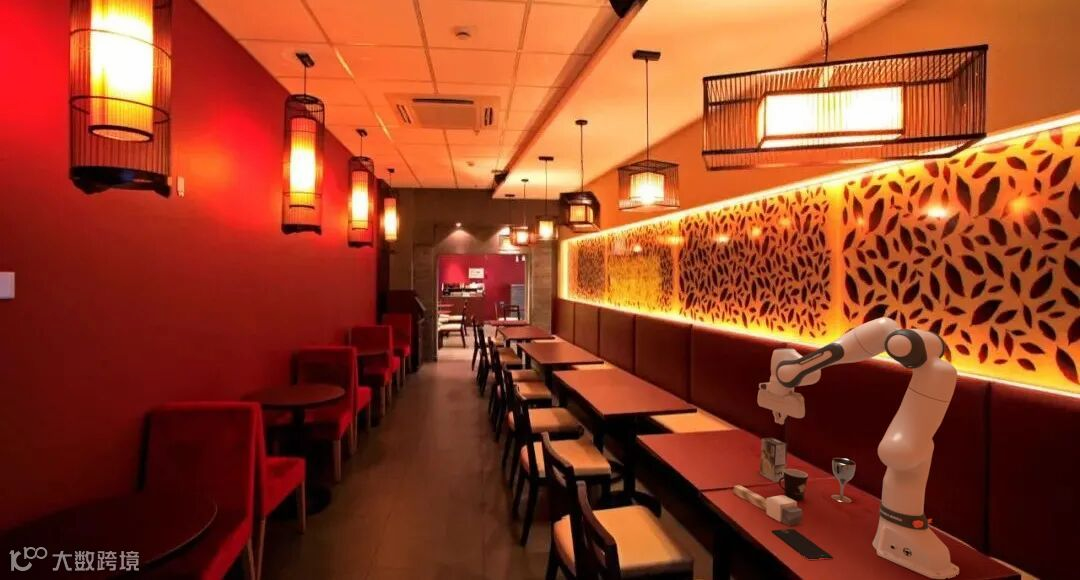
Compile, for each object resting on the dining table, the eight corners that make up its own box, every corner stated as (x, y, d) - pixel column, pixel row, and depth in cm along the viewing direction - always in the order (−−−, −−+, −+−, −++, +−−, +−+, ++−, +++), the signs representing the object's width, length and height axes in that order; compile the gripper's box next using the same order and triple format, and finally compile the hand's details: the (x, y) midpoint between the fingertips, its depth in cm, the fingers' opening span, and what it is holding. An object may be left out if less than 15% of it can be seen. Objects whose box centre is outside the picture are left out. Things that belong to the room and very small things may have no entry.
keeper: (795, 518, 188) (796, 501, 188) (779, 521, 185) (780, 504, 185) (782, 511, 194) (783, 494, 194) (765, 514, 191) (766, 497, 190)
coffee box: (786, 481, 224) (788, 444, 224) (773, 482, 222) (776, 444, 222) (770, 473, 233) (773, 437, 233) (758, 474, 231) (761, 438, 231)
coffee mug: (801, 494, 211) (802, 469, 211) (809, 503, 202) (811, 478, 202) (771, 491, 212) (772, 467, 212) (778, 500, 204) (780, 475, 203)
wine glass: (833, 501, 206) (836, 463, 205) (827, 493, 214) (829, 456, 213) (855, 504, 204) (858, 466, 204) (849, 496, 212) (851, 459, 211)
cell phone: (793, 531, 180) (794, 528, 180) (833, 560, 162) (833, 557, 162) (770, 532, 178) (771, 529, 178) (808, 561, 161) (808, 558, 160)
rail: (801, 523, 185) (802, 509, 185) (789, 526, 182) (789, 512, 182) (742, 491, 211) (742, 479, 210) (730, 493, 208) (731, 481, 208)
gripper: (810, 394, 198) (807, 430, 199) (767, 382, 217) (765, 415, 218) (798, 395, 196) (795, 431, 196) (755, 383, 215) (753, 416, 215)
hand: (779, 423), depth 207 cm, fingers closed
